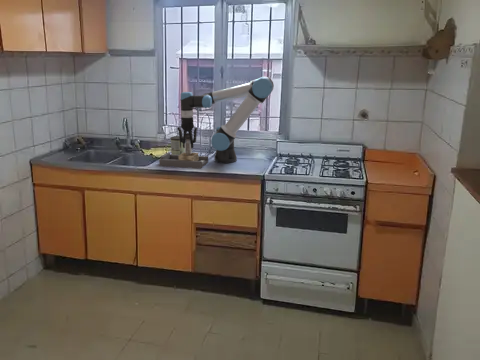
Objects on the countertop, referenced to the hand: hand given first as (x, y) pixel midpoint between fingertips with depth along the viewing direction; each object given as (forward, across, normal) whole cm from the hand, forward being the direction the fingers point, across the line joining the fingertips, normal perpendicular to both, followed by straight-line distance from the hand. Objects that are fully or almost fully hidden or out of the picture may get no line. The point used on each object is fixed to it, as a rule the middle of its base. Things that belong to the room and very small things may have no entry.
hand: (188, 153), depth 290 cm
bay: (+8, -3, 0) cm, 8 cm away
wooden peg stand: (+6, 0, 0) cm, 6 cm away
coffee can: (+8, -13, +17) cm, 23 cm away
